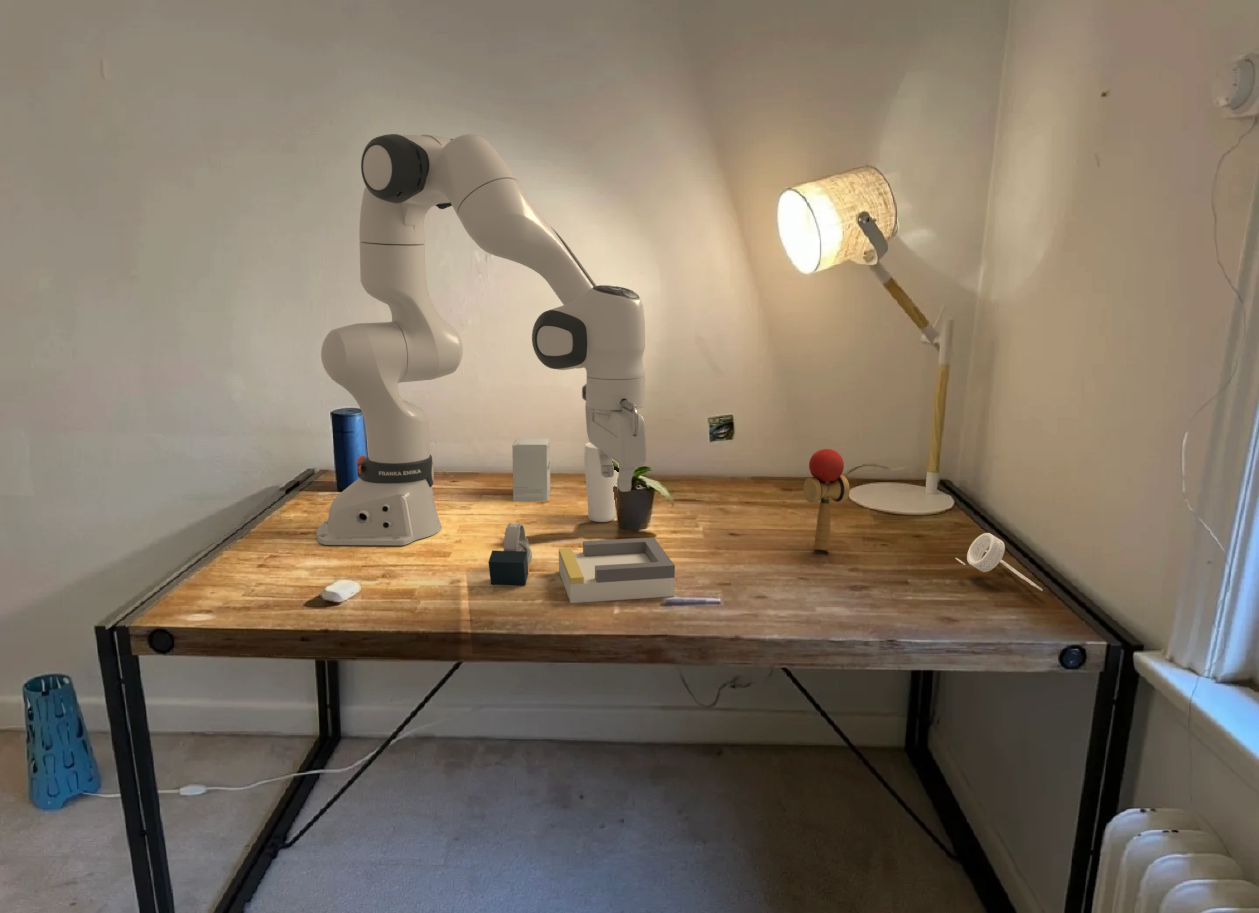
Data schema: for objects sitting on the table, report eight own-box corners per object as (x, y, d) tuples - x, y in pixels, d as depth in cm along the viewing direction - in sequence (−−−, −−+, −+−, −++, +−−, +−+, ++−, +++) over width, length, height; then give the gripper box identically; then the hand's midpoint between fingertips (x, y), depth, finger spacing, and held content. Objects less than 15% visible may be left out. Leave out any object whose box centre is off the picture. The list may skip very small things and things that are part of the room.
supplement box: (548, 504, 190) (547, 444, 187) (512, 503, 190) (511, 444, 187) (551, 494, 197) (550, 437, 194) (516, 494, 197) (515, 437, 195)
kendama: (839, 541, 168) (845, 445, 164) (848, 552, 161) (855, 453, 157) (797, 541, 167) (802, 445, 163) (805, 553, 161) (810, 453, 157)
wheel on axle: (937, 543, 160) (959, 512, 159) (982, 571, 161) (1004, 541, 160) (981, 579, 142) (1006, 544, 141) (1031, 610, 144) (1056, 576, 143)
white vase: (618, 524, 177) (618, 448, 173) (583, 524, 177) (583, 448, 173) (619, 514, 183) (620, 441, 180) (585, 514, 183) (585, 440, 180)
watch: (526, 595, 145) (536, 554, 155) (522, 553, 141) (533, 514, 151) (491, 594, 146) (503, 554, 155) (486, 552, 142) (499, 514, 151)
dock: (570, 603, 137) (570, 571, 136) (558, 571, 151) (558, 542, 150) (674, 596, 141) (674, 565, 139) (653, 565, 154) (654, 537, 153)
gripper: (657, 404, 130) (656, 498, 133) (616, 384, 149) (616, 467, 152) (615, 406, 128) (615, 502, 131) (578, 386, 147) (579, 469, 150)
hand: (615, 483), depth 142 cm, fingers open, 8 cm apart
